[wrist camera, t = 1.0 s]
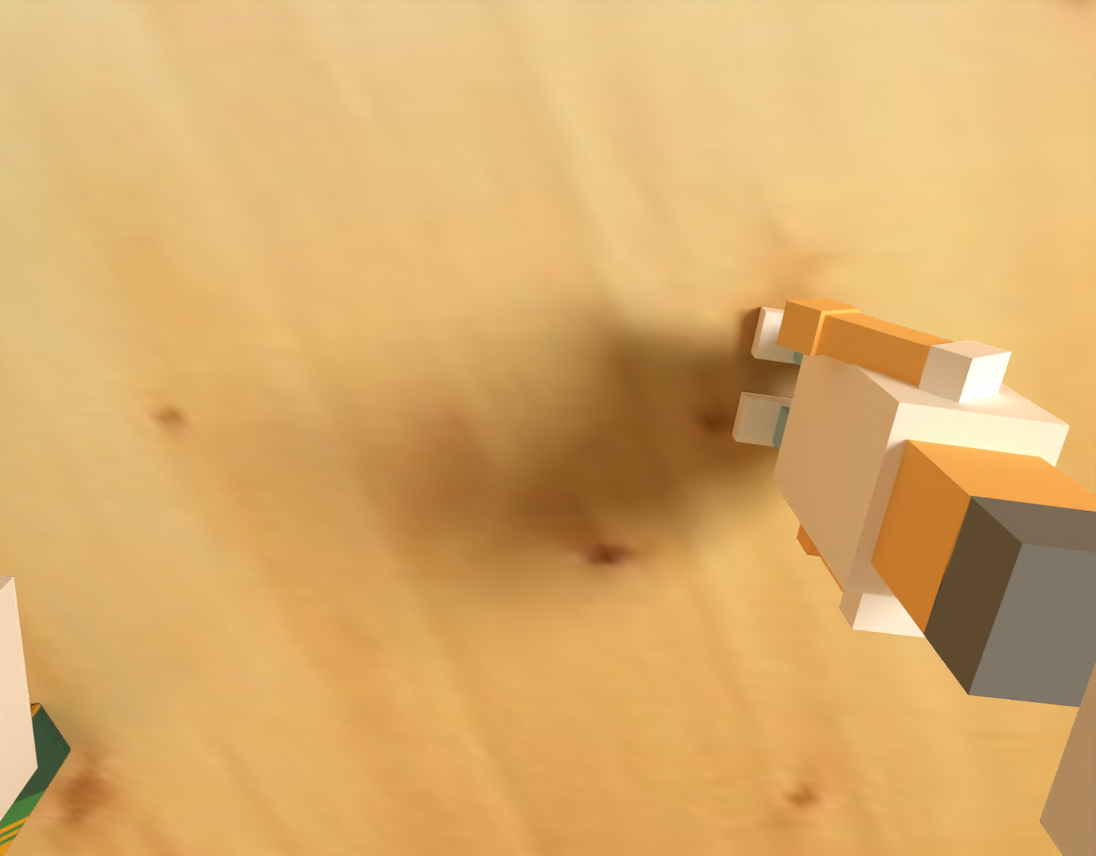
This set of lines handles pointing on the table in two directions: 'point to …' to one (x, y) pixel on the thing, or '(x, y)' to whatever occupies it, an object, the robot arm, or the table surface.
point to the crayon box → (35, 774)
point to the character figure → (932, 497)
